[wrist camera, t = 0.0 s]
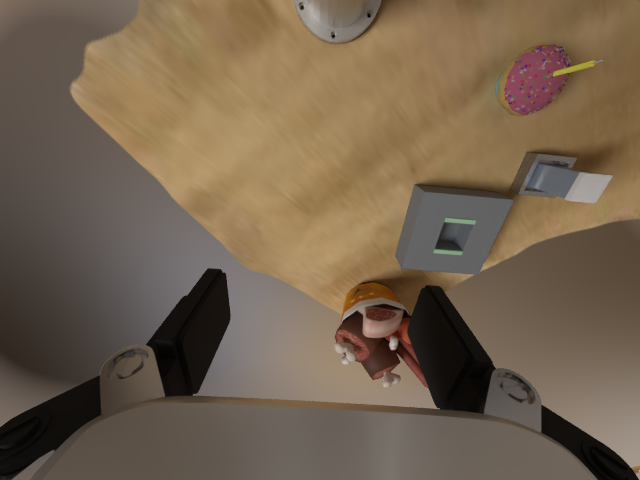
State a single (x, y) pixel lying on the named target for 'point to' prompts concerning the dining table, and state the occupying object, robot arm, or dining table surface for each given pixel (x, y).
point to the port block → (450, 229)
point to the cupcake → (535, 79)
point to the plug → (569, 182)
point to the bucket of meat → (376, 333)
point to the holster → (528, 168)
